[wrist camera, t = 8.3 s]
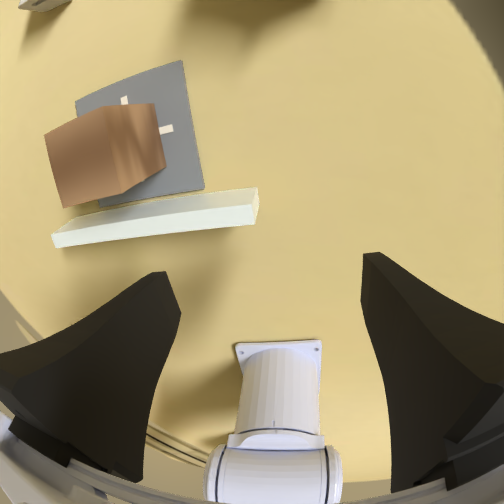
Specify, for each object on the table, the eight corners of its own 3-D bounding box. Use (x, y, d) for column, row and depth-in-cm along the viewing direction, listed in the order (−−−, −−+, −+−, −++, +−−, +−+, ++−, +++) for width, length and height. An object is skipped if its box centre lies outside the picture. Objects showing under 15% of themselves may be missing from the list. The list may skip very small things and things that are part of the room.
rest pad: (205, 187, 18) (203, 189, 18) (101, 206, 20) (99, 208, 20) (182, 60, 14) (180, 60, 14) (77, 101, 16) (74, 101, 15)
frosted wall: (259, 203, 19) (254, 224, 16) (79, 229, 21) (55, 248, 18) (257, 186, 18) (251, 204, 15) (75, 217, 21) (50, 234, 18)
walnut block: (166, 166, 18) (122, 193, 12) (114, 178, 18) (63, 208, 13) (154, 103, 15) (102, 106, 10) (101, 121, 16) (44, 135, 11)
